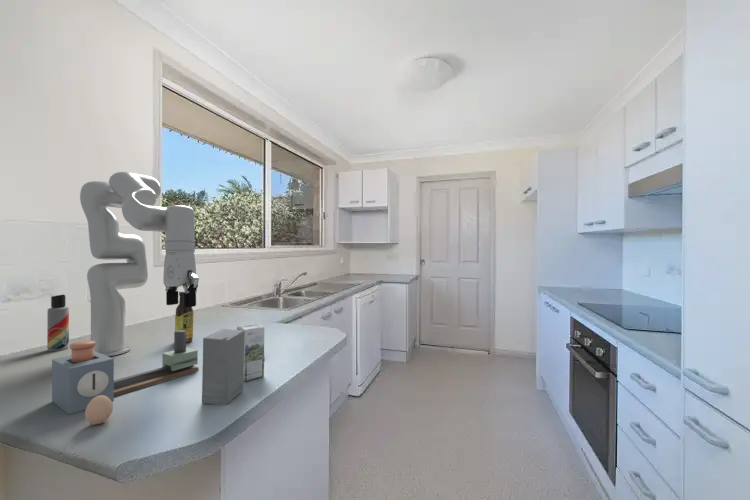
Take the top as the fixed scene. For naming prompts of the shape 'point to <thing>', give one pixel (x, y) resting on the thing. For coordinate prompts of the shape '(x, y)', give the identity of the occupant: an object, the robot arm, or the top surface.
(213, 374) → the skincare box
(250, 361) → the syrup box
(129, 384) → the slide rail
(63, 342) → the lotion bottle
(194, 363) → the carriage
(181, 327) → the sauce bottle
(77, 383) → the cabinet
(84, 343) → the button
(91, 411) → the egg
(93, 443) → the top surface
